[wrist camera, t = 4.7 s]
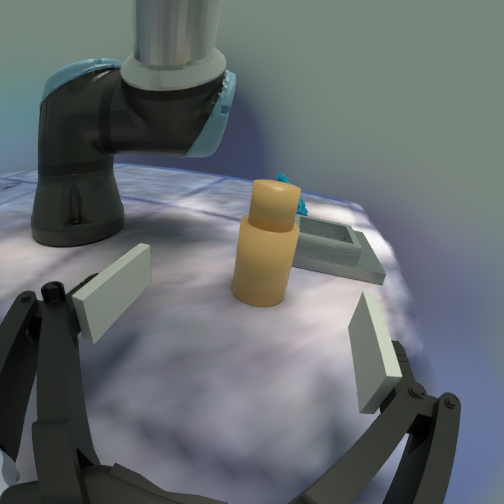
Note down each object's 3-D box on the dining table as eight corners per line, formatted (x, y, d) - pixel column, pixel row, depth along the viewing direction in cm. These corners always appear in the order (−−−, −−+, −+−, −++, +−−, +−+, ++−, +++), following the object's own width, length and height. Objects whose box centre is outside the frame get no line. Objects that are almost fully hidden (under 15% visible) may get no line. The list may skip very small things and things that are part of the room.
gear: (304, 216, 48) (276, 169, 48) (277, 232, 50) (250, 186, 50) (315, 212, 58) (291, 173, 58) (292, 225, 60) (269, 187, 60)
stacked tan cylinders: (225, 299, 25) (240, 184, 20) (238, 273, 29) (252, 175, 25) (281, 311, 24) (308, 197, 20) (285, 283, 29) (307, 186, 24)
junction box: (259, 259, 33) (263, 236, 32) (273, 221, 48) (276, 204, 46) (382, 284, 32) (390, 263, 30) (360, 240, 46) (364, 224, 45)
